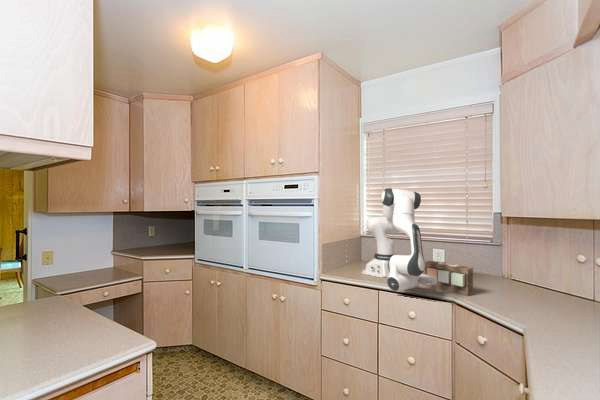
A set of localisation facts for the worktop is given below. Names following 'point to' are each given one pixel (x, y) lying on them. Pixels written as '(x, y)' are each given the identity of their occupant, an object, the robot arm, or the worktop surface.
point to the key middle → (444, 276)
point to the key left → (432, 272)
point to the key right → (458, 279)
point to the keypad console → (450, 287)
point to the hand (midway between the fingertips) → (424, 275)
